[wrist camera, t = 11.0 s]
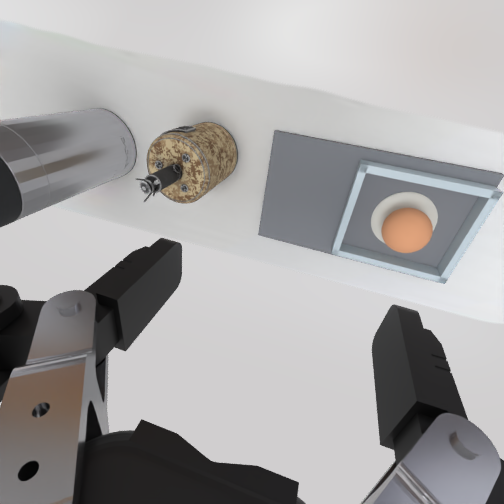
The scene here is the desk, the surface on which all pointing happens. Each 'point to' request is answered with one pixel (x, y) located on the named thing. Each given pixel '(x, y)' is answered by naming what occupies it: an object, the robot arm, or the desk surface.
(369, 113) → the desk surface
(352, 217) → the mat
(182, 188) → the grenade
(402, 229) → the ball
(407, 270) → the square tray
